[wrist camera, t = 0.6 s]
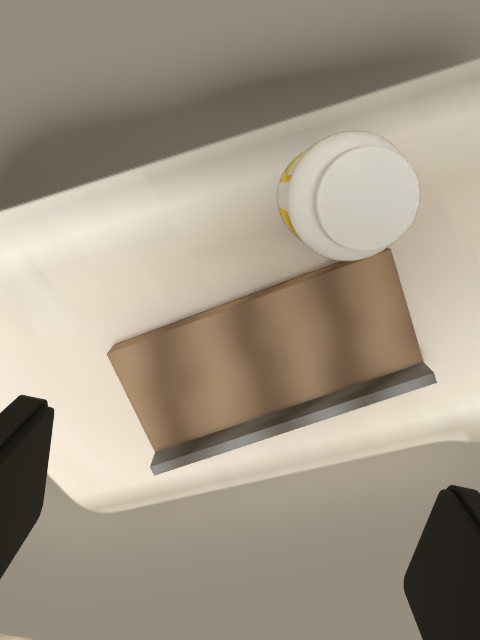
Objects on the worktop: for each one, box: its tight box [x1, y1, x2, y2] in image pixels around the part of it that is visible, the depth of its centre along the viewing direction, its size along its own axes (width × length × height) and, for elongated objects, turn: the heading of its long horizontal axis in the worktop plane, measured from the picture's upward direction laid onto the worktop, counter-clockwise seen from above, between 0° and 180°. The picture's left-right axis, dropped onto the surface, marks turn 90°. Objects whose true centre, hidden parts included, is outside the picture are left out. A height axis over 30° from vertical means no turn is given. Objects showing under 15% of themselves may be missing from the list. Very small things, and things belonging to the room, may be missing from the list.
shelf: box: [107, 248, 437, 476], centre depth 34 cm, size 22×10×4 cm, turn 111°
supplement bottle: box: [277, 131, 420, 261], centre depth 27 cm, size 7×7×13 cm
